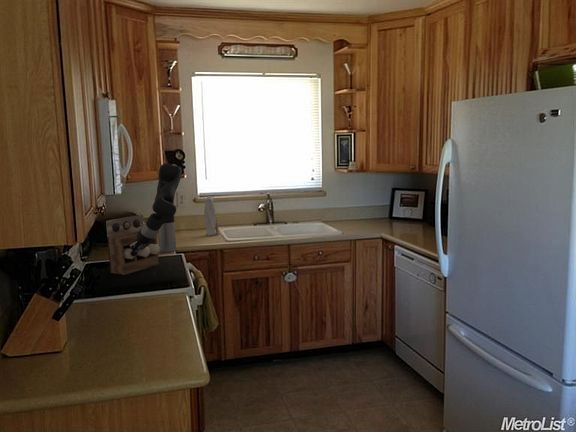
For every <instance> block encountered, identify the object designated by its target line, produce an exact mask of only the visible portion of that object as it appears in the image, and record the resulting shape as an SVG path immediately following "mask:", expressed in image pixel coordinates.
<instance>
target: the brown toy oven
mask: <svg viewBox="0 0 576 432" xmlns="http://www.w3.org/2000/svg"><path fill="white" fill-rule="evenodd" d="M105 223H106V224H105V225H106V236H107V250H108V261H109V273H110V274H116V275H122V276H125V275H129V274H132V273H135V272H138V271H141V270H145V269H146V270H147V269H149V268H152V266H153V267H155V266H158V265H159V263H160V262H159V253H158V254H149V256H147V257H143V256H136V255H135V257H134V258H133V259H127V258H124V248H129V249H131V248H130V246H129V243H131V244H132V243H134V241H135V240H136V239H137V233H138V232H139V230H140V229H141V227H142V226H143V225H144V223H145V222H144V214H138V215H132V216H126V217H120V218H115V219H109V220H106V221H105ZM157 234H158V233H157ZM157 234H156V236H155V237H154V239H153V240H152V241H151V242H152V243H151V244H157V245H158V235H157Z"/></svg>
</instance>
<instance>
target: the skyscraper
mask: <svg viewBox="0 0 576 432" xmlns="http://www.w3.org/2000/svg"><path fill="white" fill-rule="evenodd" d="M202 197H203V200H204V204H205V205H204V209H203V211H204V222H205V226H206V233H205V236H208V237H216V236H220V232H219V231H220V230H219V223H218V216H217V217H216V210H215V206H214V200H215V197H214V196H209V195H208V194H207V195H205V194H204V195H203V196H202Z"/></svg>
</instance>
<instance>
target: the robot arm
mask: <svg viewBox="0 0 576 432" xmlns="http://www.w3.org/2000/svg"><path fill="white" fill-rule="evenodd" d="M182 171H183V170H182V167H180V166H179V165H174V164H170V163H163V164H161V165H160V167H159V170H158V183H157V188H156V194H155V197H154V202H153V204H152V211H153V212H154V213H153V212H152V213H151V214H150V215H149V216H148V218H147V220H146V221H145V222H144V225H143V226H142V227H141V229H140V230H139V232H138V233H137V239H136V240H135V241H134V243H132V244H131V243H129V246H130V248H131V250H132V252H131V253H130V254H131V255H132V256H135V255H136V254H137V253H138V252H139V251H140V250H143V249H144V248H146V247H147V246H148V245H149V244H151V243H152V242H151V241H152V240H153V239H154V237H155V236H156V234H158V232H159V234H158V235H157V241H158V245H159V247H160V251H159V252H161V253H173V252H176V251H177V241H176V240H177V238H176V226H175V225H176V224H175V215H176V213H177V206H176V204H175V195H176V192H177V189H178V187H179V184H180V181H181V178H182V174H183V173H182Z"/></svg>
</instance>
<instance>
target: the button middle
mask: <svg viewBox="0 0 576 432" xmlns="http://www.w3.org/2000/svg"><path fill="white" fill-rule="evenodd" d="M149 254H150V249H149V247H146V248H144V249H143V250H140V251H139V252H138V253H137V254H136V256H143V257H147V256H149Z"/></svg>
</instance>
